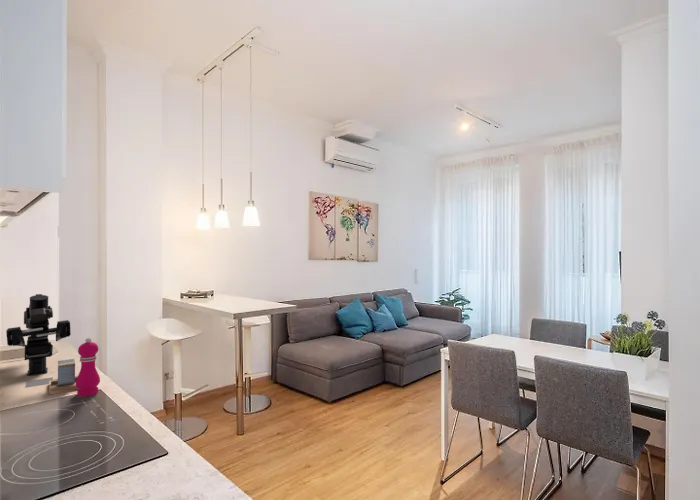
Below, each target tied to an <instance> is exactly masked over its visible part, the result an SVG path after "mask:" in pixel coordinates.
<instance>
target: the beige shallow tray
mask: <svg viewBox="0 0 700 500" xmlns="http://www.w3.org/2000/svg"><path fill="white" fill-rule="evenodd" d="M77 377H78V375H75V384H72V385H66V386H60V387H58V378H53V380H49V384H48V395H54V394H60V393H67V392H71V391H72V392H73V391H78V390H79V389H78V388H77V387H76V379H77Z"/></svg>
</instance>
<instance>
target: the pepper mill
mask: <svg viewBox="0 0 700 500" xmlns="http://www.w3.org/2000/svg"><path fill="white" fill-rule="evenodd" d="M77 349H78V350H77V352H78V355H79V356H80V357H79V362H80V364H81V365H80V371H79V372H78V375H77V376H78V377H77V379H76V387H77V388H78V389H79V390H76V395H77V397H81V398H82V397H90V396H94V395H96V394H98V393H99V387H98V386H99V384H100V383H101V377H100V375H99V372H98V371H97V368H96V360H97V359H98V358H97V357H98V355H97V354H98V352H99V346H98V344H97V343H96V342H93V341H92V338H90V337H87V338H86V339H85V342H83V343H82V344H80V345H79V347H78V348H77Z"/></svg>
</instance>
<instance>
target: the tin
mask: <svg viewBox="0 0 700 500" xmlns="http://www.w3.org/2000/svg"><path fill="white" fill-rule="evenodd" d="M75 376H76V362H75V358H70V359H64V360H57V379H58V387H60V386H66V385H72V384H75Z"/></svg>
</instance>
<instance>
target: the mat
mask: <svg viewBox="0 0 700 500" xmlns="http://www.w3.org/2000/svg"><path fill="white" fill-rule="evenodd" d="M49 380H54V378H53V377H47V378H39V379H32V380H27V381H26V382H25V387H24V388H31V387H37V386H43V385H49Z"/></svg>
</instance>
